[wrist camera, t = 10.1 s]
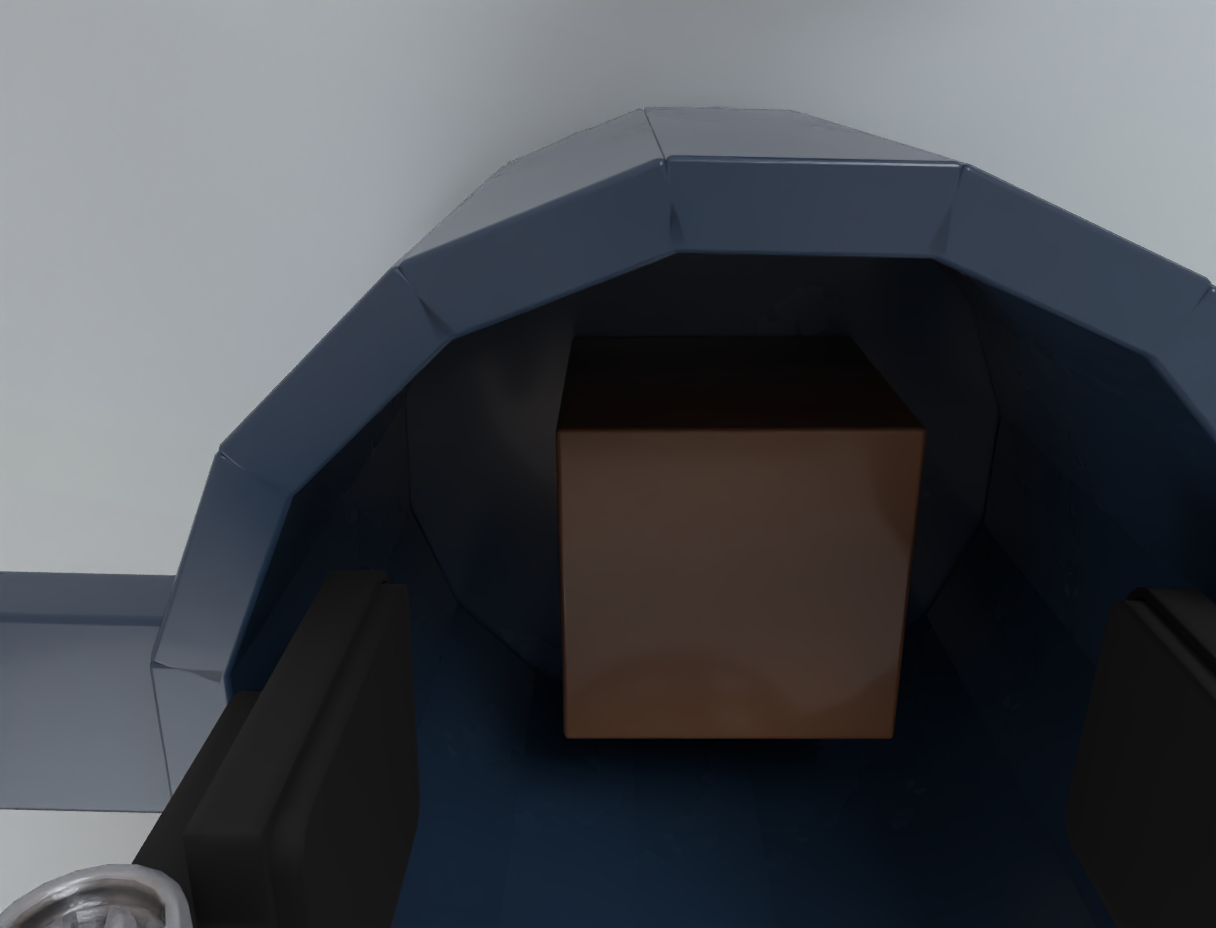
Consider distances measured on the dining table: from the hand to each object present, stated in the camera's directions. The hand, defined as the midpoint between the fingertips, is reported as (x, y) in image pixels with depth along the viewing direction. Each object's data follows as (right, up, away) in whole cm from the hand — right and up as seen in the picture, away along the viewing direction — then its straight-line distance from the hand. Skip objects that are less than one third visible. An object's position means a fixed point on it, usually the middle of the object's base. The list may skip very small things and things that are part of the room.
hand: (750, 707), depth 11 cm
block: (0, +2, +7) cm, 8 cm away
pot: (0, +3, +8) cm, 8 cm away
